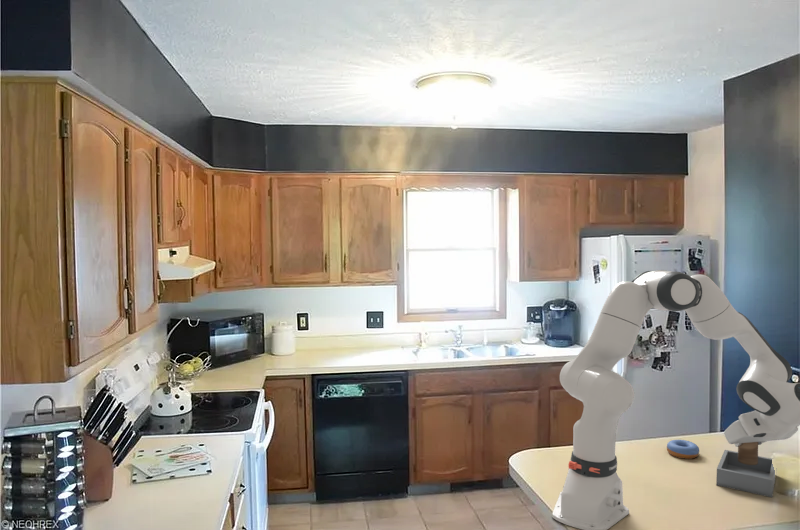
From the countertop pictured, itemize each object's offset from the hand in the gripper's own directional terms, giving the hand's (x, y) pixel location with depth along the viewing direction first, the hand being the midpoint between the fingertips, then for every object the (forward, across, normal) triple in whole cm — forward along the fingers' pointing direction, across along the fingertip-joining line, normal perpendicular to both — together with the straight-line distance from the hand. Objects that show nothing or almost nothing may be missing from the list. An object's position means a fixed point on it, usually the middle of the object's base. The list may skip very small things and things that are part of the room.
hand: (746, 443), depth 175 cm
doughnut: (+23, +6, -7) cm, 25 cm away
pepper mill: (+3, 0, +4) cm, 5 cm away
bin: (+7, 0, +8) cm, 11 cm away
